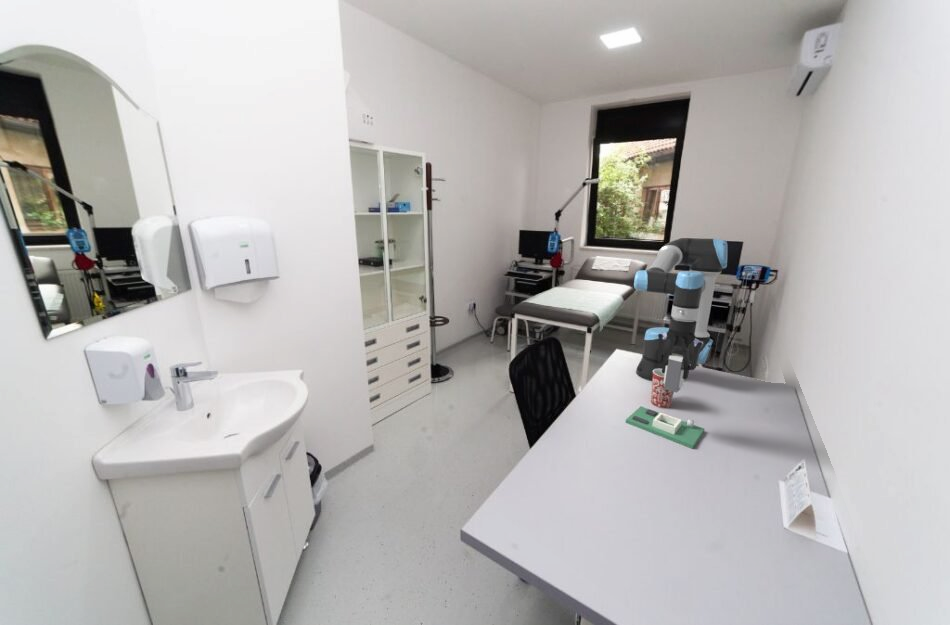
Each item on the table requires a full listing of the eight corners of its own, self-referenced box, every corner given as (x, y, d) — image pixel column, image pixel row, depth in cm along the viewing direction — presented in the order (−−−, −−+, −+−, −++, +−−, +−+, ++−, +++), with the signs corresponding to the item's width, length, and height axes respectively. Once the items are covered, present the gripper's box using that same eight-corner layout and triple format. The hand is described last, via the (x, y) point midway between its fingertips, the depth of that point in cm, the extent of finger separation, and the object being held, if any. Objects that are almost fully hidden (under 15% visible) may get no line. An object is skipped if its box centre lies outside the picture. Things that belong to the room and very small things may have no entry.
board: (640, 408, 143) (641, 400, 142) (703, 431, 129) (705, 422, 128) (625, 422, 134) (626, 413, 133) (692, 448, 119) (694, 438, 118)
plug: (667, 385, 128) (673, 353, 125) (680, 389, 126) (685, 356, 123) (664, 388, 126) (669, 356, 123) (676, 392, 123) (682, 359, 120)
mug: (670, 411, 142) (676, 379, 138) (645, 404, 147) (650, 373, 143) (676, 399, 151) (681, 369, 148) (653, 393, 157) (657, 364, 153)
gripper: (652, 316, 123) (643, 380, 128) (710, 326, 111) (697, 396, 117) (660, 312, 128) (651, 374, 134) (716, 322, 116) (704, 389, 122)
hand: (672, 384), depth 125 cm, fingers closed on plug, 4 cm apart
